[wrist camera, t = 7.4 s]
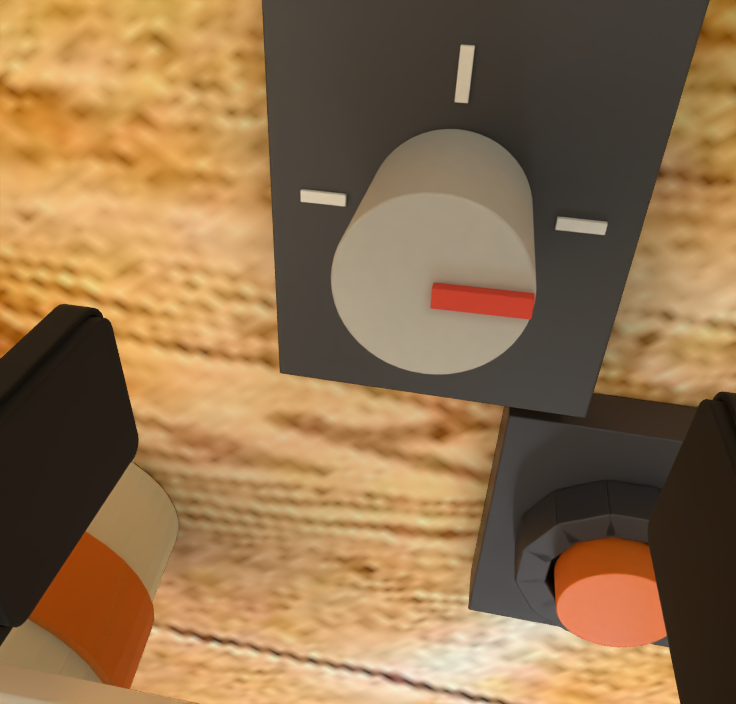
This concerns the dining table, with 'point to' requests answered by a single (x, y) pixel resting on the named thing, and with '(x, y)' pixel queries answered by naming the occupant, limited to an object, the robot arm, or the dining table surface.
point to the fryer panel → (493, 120)
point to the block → (568, 495)
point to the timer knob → (439, 255)
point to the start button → (609, 593)
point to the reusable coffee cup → (103, 590)
